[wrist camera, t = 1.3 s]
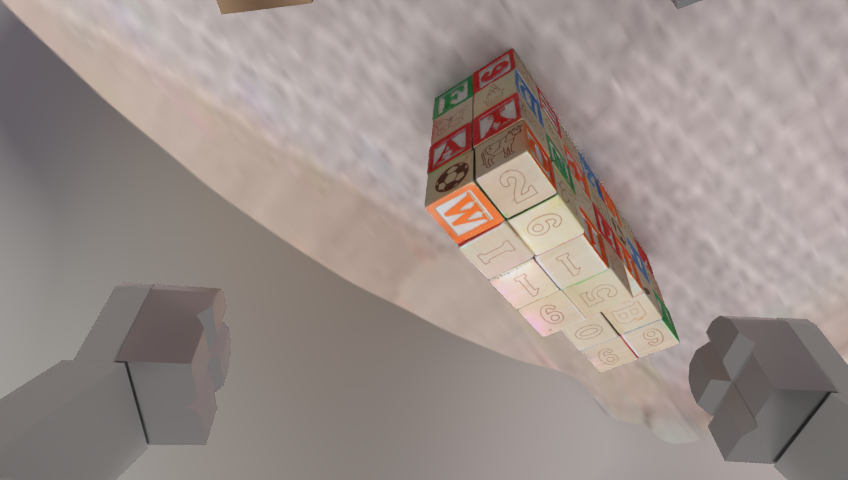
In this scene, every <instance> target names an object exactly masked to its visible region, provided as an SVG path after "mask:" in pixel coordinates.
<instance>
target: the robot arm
mask: <svg viewBox="0 0 848 480" xmlns="http://www.w3.org/2000/svg"><path fill="white" fill-rule="evenodd" d="M226 308H227V305H226V299H225V293H224V291H223V290H222V289H217V288H204V287H190V286H178V285H165V284H156V285H154V284H143V283H131V282H122V283H121V284H120V285H118V286H117V287H116V288H115V289H114V290H113V292H112V294H111V296H110V297H109V299H108V301H107V303H106V304H105V306H104V308H103V310H102V312H101V313H100V315H99V317H98V318H97V320H96V322H95V324H94V325H93V327H92V329H91V331H90V332H89V334H88V336H87V337H86V339H85V341H84V343H83V344H82V346H81V348H80V350H79V351H78V353H77V355H76V357H75V358H74V360H73V361H72V360H71V361H70V360H62V361H61V362H59V363H58V364H56V365H54V366H53V367H51V368H49V369H48V370H46V371H45V372H43V373H41V374H40V375H38V376H37V377H35V378H34V379H32V380H30V381H29V382H27V383H26V384H24V385H22V386H21V387H19V388H18V389H16V390H15V391H13V392H11V393H10V394H8V395H7V396H5V397H3V398H2V399H0V480H116V479H117V478H118V477H119V476H120V475H121V474H122V473H123V472H124V471H125V470H126V469H127V468H128V467H129V466H130V465H131V464H132V463H133V462H134V461H135V460H136V459H137V458H138V457H140V456H141V454H142V453H144V452H145V451H146V450H147V449H148V445H206V443H207V440H208V437H209V434H210V430H211V426H212V423H213V420H214V417H215V413H216V410H217V405H216V398H215V392H216V391H217V390H218V389H220V388H221V387H222V386H223V385H224V383H225V379H226V375H227V372H228V366H229V358H230V344H231V343H230V342H231V339H230V330H229V327H228V326H227V325H226V324H225V323H224V322H223V318H224V315H225V311H226ZM706 333H707V336H708V338H709V341H710V342H708V343H707V344H705V345H704V346H702V347H701V348H699V349H697V350H696V352H695V354H694V356H693V358H692V360H691V362H690V365H689V384H690V388H691V392H692V394H693V396H694V399H695V401H696V403H697V404H698V405H699V406H700V407H701V408H702V409H704V410H705V411H706V412H707V413H709V414H710V415H711V418H710V421H709V425H708V428H709V430H710V432H711V434H712V436H713V438H714V440H715V441H716V444H717V446H718V448H719V450H720V452H721V454H722V456H723V458H724V460H725V461H734V462H751V463H767V464H775V465H774V467H775V468H776V469H777V470H778V471H779V472H780V473H781V474H782V475H783V476H784V477H785V478H787V480H848V365H847V363H846V362H845V361H844V360H843V358H842V357H841V356H840V355H839V353H838V352H837V351H836V350H835V348H834V347H833V346H832V344H831V343H830V342H829V341H828V339H827V338H826V337H825V336H824V334H823V333H822V332H821V331H820V329H819V328H818V327H817V325H815V324H814V323H812V322H811V321H809V320H807V319H791V318H776V319H774V318H759V317H738V316H719V317H717V318H716V319H715V320H713V321H712V323H711V324H710V326H709V328H708V330H707V331H706Z"/></svg>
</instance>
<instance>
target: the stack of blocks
mask: <svg viewBox="0 0 848 480" xmlns="http://www.w3.org/2000/svg"><path fill="white" fill-rule="evenodd" d="M431 145H432V146H431V147H430V150H429V162H428V170H427V174H428V181H427V189H426V198H425V210H426V211H427V212H428V213H429V214H430V215H431V216H432V217H433V219H434V220H435V221H436V222H437V223H438V224H439V225H440V226H441V227H442V228H443V229H444V231H445V232H446V233H447V234H448V235H449V236H450V237H451V238H452V239H453V240H454V242H455V243H457V244H458V246H459V249H460V251H461V252H462V253H463V254H464V255H465V256H466V257H467V258H468V259H469V260H470V261H471V262H472V263H473V264H474V265H475V266H476V268H477V269H478V270H479V271H480V272H481V273H482V274H483V275H484V276H485V277H486V278H487V279H489V281H490V283H491V284H492V285H493V286H494V288H495V289H496V290H498V291H499V293H500V294H501V295H502V296H503V297H504V298H505V299H506V300H507V301H508V302H509V303H510V304H511V305H512V306H513V307H514V308H516V309H518V311H519V313H520V314H521V315H522V316H523V317H524V318H525V319H526V320H527V321H528V322H529V323H530V324H531V325H532V326H533V327H534V328H535V329H536V330H537V331H538V332H539V333H540V335H541V336H542V337H545V336H548V335H550V334H552V333H555V332H557V331H560V330H561V331H562V332H563V333H564V334H565V335H566V336H567V338H568V339H569V340H570V341H571V342H572V343H573V344H574V346H575V347H576V348H577V349H578V350H580V351H582V353H583V354H584V355H585V356H586V358H587V359H588V360H589V361H590V362H591V363H592V365H593V366H594V367H595V368H596V369H597V370H598V371H599V372H603V371H606V370H609V369H612V368H614V367H617V366H620V365H623V364H626V363H629V362H632V361H634V360H637V359H638V358H639V357H643V356H646V355H649V354H651V353H654V352H657V351H660V350H662V349H665V348H668V347H670V346H673V345H676V344H679V338H678V335H677V333H676V330H675V327H674V324H673V321H672V319H671V316H670V313H669V311H668V310H667V308H666V307H665V304H664V301H663V298H662V295H661V292H660V289H659V287H658V284H657V282H656V280H655V278H654V275H653V272H652V268H651V266H650V263H649V261H648V258H647V256H646V254H645V253H644V251H643V250H642V248H641V247H640V245H639V244H638V243H637V241H636V239H635V238H634V237H633V234H632V232H631V230H630V228H629V227H628V225H627V224H626V222H625V221H624V219H623V218H622V216H621V215H620V213H619V212H618V210H617V209H616V207H615V205H614V204H613V202H612V200H611V199H610V197H609V196H608V194H607V193H606V191H605V190H604V188H603V187H602V185H601V184H600V182H599V181H598V180H596V178H595V176H594V175H593V173H592V172H591V170H590V169H589V167H588V166H587V164H586V162H585V161H584V159H583V158H582V156H581V155H580V153H579V152H578V151H577V149H576V147H575V146H574V144H573V143H572V141H571V140H570V138H569V137H568V135H567V134H566V132H565V131H564V129H563V128H562V126H561V125H560V123H559V122H558V118H557V116H556V115H555V113H554V112H553V110H552V109H551V107H550V105H549V104H548V102H547V101H546V99H545V98H544V96H543V95H542V93H541V91H540V90H539V88H538V87H537V85H536V83H535V81H534V80H533V78H532V77H531V75H530V74H529V72H528V70H527V69H526V67H525V66H524V64H523V63H522V61H521V59H520V58H519V56H518V55H517V53H516V52H515V50H514V49H511V50H509V51H508V52H506V53H505V54H503V55H502V56H500V57H498V58H497V59H495V60H494V61H492V62H491V63H489V64H488V65H486V66H485V67H483V68H481V69H480V70H478V71H477V72H475V73H474V74H473V75H472V76H470V77H469V78H467V79H466V80H464V81H462V82H461V83H459V84H458V85H456V86H455V87H453V88H451V89H450V90H448V91H447V92H445V93H444V94H442V95H440V96H439V97H437V98H436V99H435V104H434V110H433V130H432V140H431Z"/></svg>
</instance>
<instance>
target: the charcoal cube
mask: <svg viewBox="0 0 848 480" xmlns="http://www.w3.org/2000/svg"><path fill="white" fill-rule="evenodd" d="M671 1H672V2H673V3H674V5H675V6H676V7H677V9H679V8H681V7H684V6H687V5H690V4H693V3H695V2H698V1H701V0H671Z"/></svg>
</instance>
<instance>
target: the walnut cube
mask: <svg viewBox="0 0 848 480" xmlns="http://www.w3.org/2000/svg"><path fill="white" fill-rule="evenodd" d="M312 2H313V0H217V3H218V6H219V8H220V11H221V14H229V13H237V12H245V11H253V10H261V9H268V8H276V7H284V6H292V5H300V4H308V3H312Z"/></svg>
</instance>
